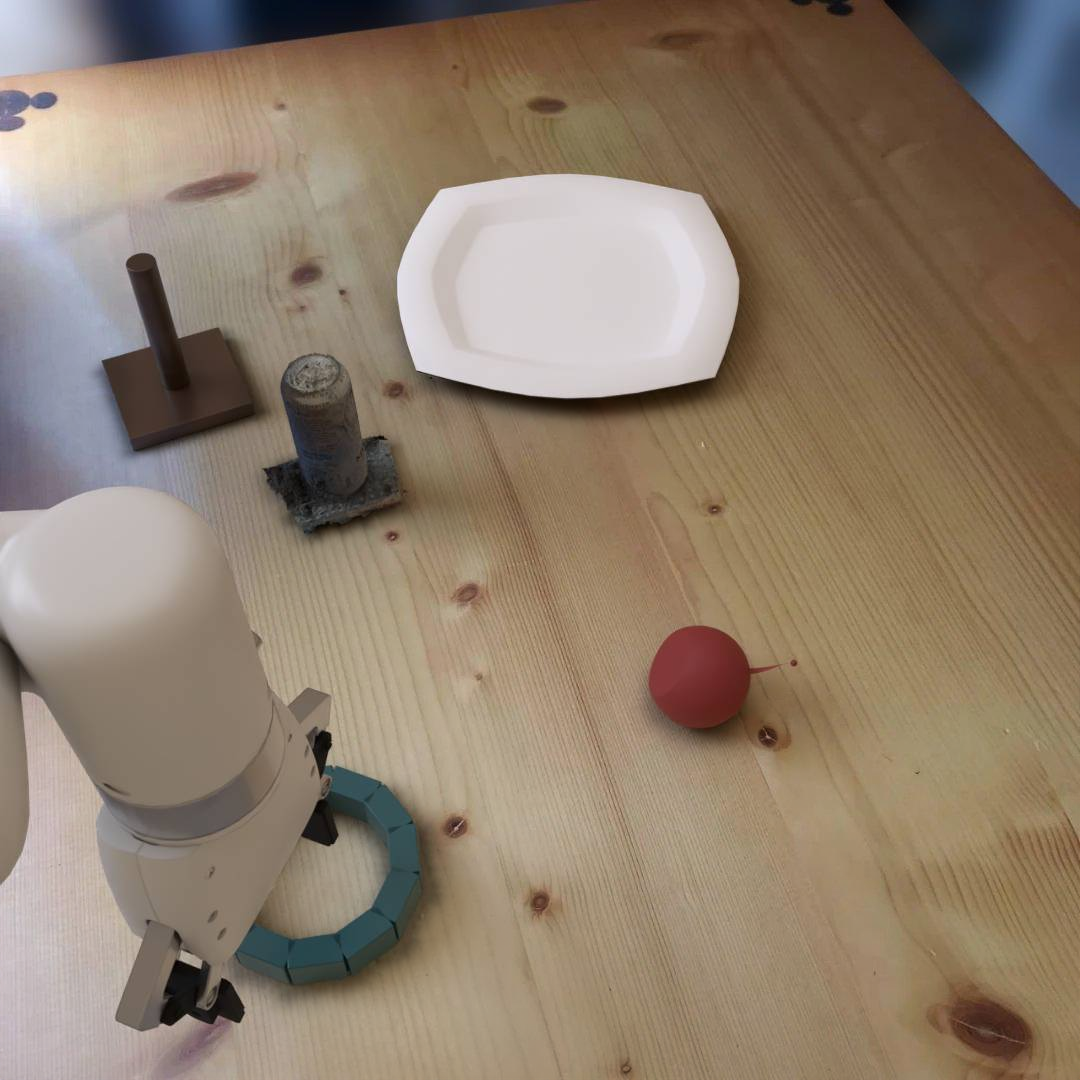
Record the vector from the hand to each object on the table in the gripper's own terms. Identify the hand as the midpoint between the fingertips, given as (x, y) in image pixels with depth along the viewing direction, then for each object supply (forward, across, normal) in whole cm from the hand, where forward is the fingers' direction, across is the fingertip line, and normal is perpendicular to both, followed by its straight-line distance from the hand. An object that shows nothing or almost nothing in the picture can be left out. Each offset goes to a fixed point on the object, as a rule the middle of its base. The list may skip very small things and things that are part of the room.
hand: (264, 916), depth 65 cm
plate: (+7, -56, -5) cm, 57 cm away
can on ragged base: (+6, -31, -12) cm, 34 cm away
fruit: (+6, -24, +17) cm, 30 cm away
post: (+6, -35, -28) cm, 45 cm away
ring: (+6, -5, 0) cm, 7 cm away
